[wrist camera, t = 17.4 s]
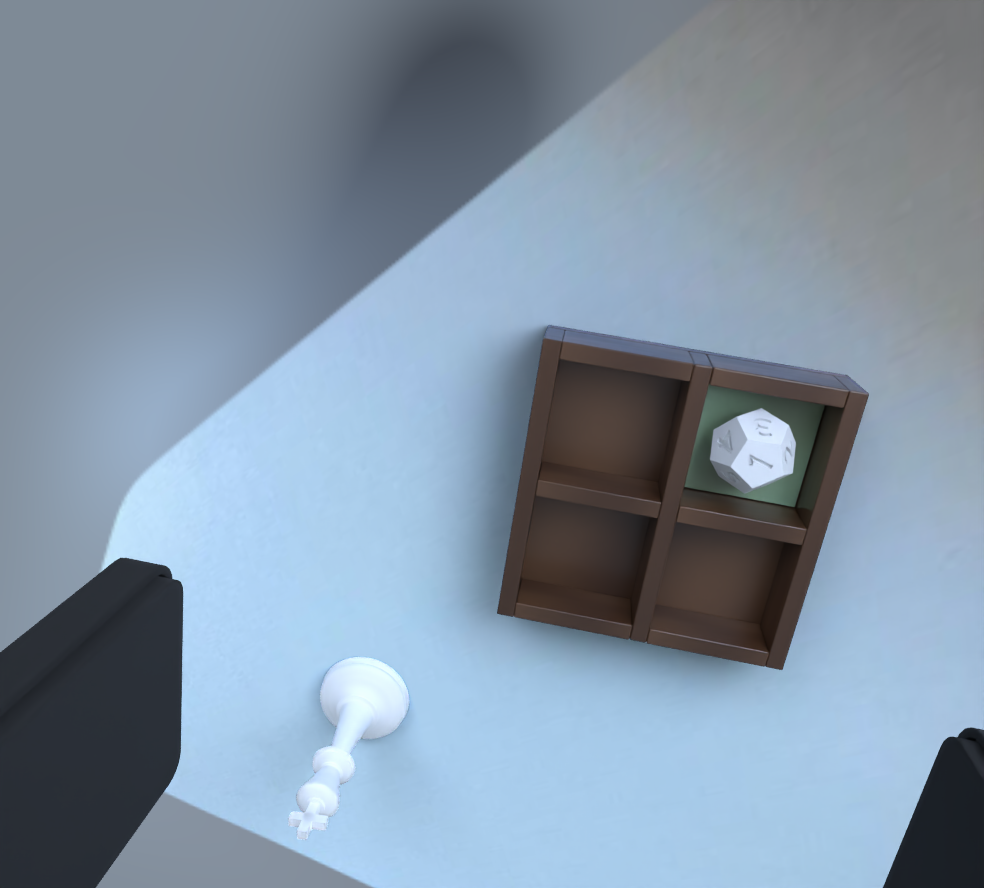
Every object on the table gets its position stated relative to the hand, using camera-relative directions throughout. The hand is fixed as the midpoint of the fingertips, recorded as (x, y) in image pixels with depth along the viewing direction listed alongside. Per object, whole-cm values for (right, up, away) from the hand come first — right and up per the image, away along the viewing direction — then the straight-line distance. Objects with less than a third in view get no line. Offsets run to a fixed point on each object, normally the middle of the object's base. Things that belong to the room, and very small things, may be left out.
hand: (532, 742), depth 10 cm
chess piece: (-7, -10, +35) cm, 37 cm away
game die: (+11, +4, +27) cm, 29 cm away
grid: (+8, +2, +29) cm, 30 cm away
